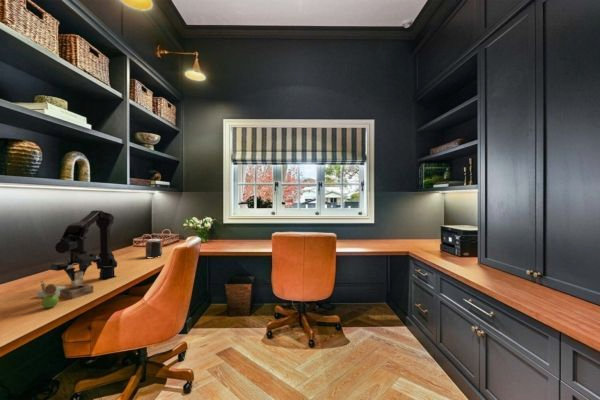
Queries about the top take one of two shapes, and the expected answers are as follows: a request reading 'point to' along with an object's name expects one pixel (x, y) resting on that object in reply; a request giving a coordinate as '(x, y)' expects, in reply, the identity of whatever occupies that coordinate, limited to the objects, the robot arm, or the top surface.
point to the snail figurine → (49, 295)
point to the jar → (153, 248)
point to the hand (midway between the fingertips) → (77, 279)
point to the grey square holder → (76, 291)
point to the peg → (77, 277)
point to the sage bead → (41, 294)
